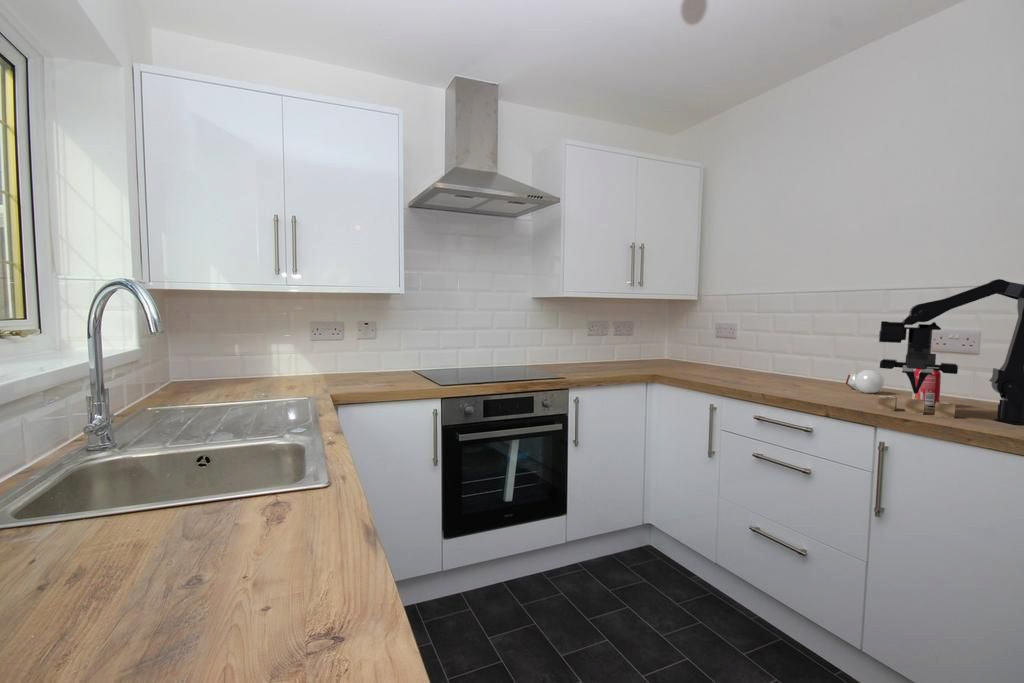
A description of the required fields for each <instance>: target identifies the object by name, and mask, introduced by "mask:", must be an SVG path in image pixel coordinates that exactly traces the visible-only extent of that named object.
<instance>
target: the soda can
mask: <svg viewBox="0 0 1024 683" xmlns="http://www.w3.org/2000/svg"><path fill="white" fill-rule="evenodd" d="M914 371H915V379H916V387H917V383H918V379H919V374H920V372H921V371H922V370H921V369H914ZM932 372H933V374H932V375H927V377H926V378H925V380H924V381H923V383H922V385H921V387H920V389H919V391H918V393H917V394H914V392H913V391H912V398H911V399H915V400H925V406H935V403H936V402H940V400H941V399H940V396H941V395H940V394H941V381H942V380H941V378H942V374H941V373H942V372H941V371H938V370H933V371H932Z"/></svg>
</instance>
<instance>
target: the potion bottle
mask: <svg viewBox="0 0 1024 683" xmlns="http://www.w3.org/2000/svg"><path fill="white" fill-rule="evenodd" d="M845 385H846V386H848V387H850V388H851V389H852V390H855V389H856V390H855V391H860V392H862V393H864V394H876V393H878V392H881V390H882V389H883V387H884V386H885V379H884V377H883V375H882V374H881V373H880V372H878V371H876V370H874V369H863V370H860V371H859V372H858V373H850V374H848V376H847V378H846V381H845Z"/></svg>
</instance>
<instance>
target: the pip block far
mask: <svg viewBox="0 0 1024 683" xmlns="http://www.w3.org/2000/svg"><path fill="white" fill-rule="evenodd" d="M897 403H898V397H896V396H895V395H894V396H893V395H878V396H877V408H881V409H891V410H895V409H896V410H897ZM896 410H895V411H896Z"/></svg>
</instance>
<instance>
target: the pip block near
mask: <svg viewBox="0 0 1024 683" xmlns="http://www.w3.org/2000/svg"><path fill="white" fill-rule="evenodd" d="M955 411H956V403H952V402H949V401H939V402H936V403H935V407H934V416H935V415H939V416H947V417H953V418H952V419H955V413H956V412H955Z"/></svg>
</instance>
